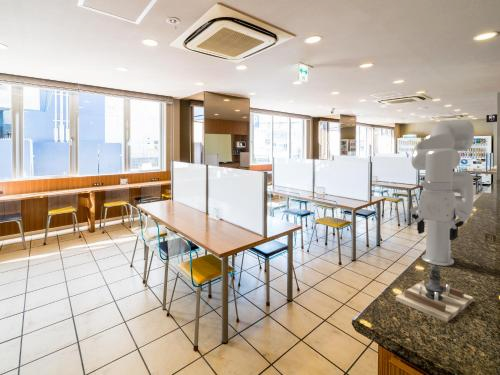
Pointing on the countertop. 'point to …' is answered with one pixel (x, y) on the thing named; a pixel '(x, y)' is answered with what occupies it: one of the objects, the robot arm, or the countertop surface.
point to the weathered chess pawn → (434, 284)
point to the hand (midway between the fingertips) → (436, 236)
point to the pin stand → (435, 301)
